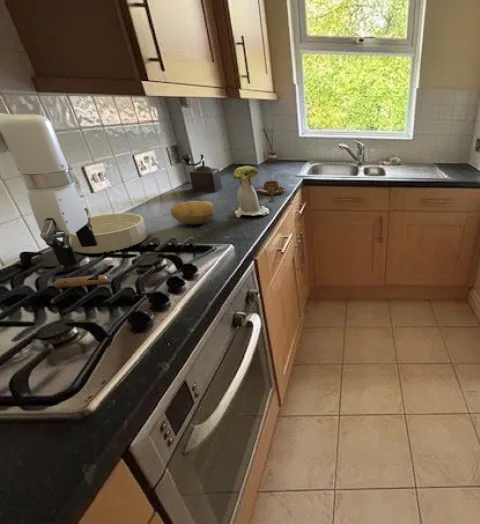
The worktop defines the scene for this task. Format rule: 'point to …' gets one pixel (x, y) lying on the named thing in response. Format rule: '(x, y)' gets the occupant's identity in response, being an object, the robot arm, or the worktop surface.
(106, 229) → the bowl
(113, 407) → the worktop surface
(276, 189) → the place setting
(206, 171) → the coffee grinder
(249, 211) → the vase of yellow flowers
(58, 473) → the worktop surface
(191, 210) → the potato
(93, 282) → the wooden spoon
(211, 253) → the worktop surface
